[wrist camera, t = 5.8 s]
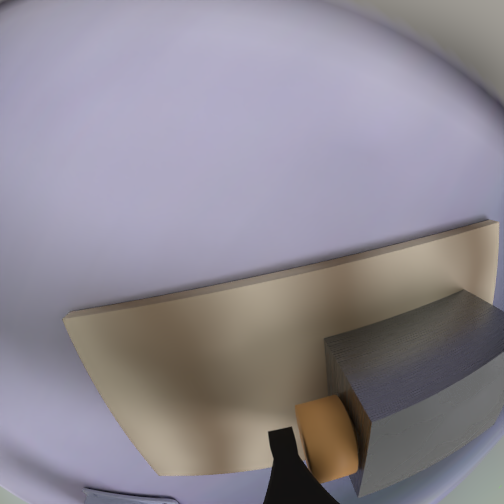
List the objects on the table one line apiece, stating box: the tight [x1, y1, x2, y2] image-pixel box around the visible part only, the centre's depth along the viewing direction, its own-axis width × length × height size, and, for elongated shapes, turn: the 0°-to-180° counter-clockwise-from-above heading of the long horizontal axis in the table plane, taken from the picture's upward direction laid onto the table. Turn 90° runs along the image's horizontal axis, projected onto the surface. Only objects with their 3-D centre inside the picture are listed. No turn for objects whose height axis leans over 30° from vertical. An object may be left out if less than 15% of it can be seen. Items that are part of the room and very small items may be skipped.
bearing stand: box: [62, 220, 504, 498], centre depth 10 cm, size 22×12×6 cm, turn 101°
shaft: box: [295, 395, 360, 483], centre depth 9 cm, size 14×4×4 cm, turn 101°
